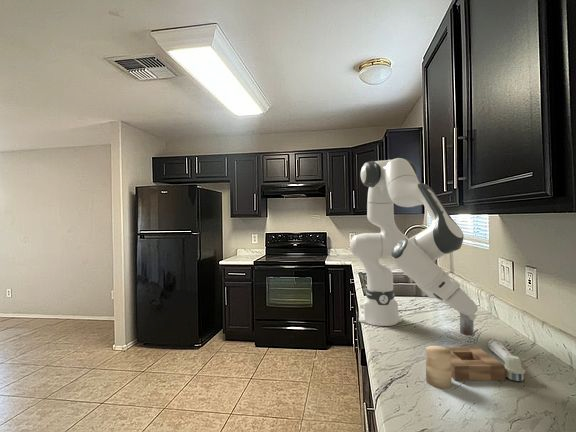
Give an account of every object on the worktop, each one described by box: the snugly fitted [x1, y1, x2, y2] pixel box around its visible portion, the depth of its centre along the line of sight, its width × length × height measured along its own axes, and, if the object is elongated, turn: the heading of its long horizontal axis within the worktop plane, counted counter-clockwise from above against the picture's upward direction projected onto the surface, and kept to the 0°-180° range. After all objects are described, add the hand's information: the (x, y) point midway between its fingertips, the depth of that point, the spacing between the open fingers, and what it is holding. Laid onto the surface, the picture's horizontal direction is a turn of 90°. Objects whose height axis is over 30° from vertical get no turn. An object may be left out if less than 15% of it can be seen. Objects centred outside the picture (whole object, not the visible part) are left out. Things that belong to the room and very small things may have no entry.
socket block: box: [444, 346, 506, 381], centre depth 103 cm, size 14×14×4 cm
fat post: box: [425, 345, 453, 389], centre depth 95 cm, size 6×6×9 cm
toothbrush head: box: [486, 338, 526, 382], centre depth 106 cm, size 5×7×25 cm
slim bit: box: [459, 299, 475, 337], centre depth 102 cm, size 4×4×10 cm
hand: (468, 315), depth 102 cm, fingers closed on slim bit, 4 cm apart
